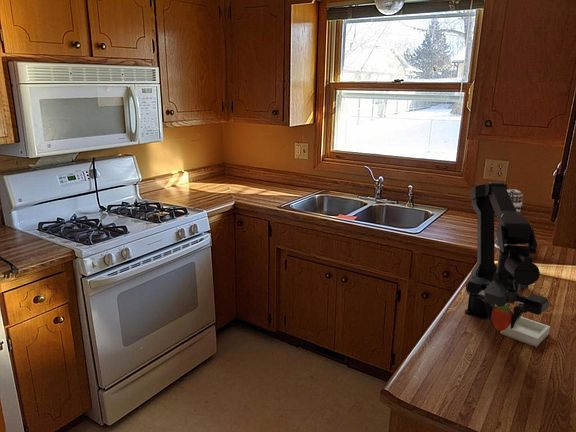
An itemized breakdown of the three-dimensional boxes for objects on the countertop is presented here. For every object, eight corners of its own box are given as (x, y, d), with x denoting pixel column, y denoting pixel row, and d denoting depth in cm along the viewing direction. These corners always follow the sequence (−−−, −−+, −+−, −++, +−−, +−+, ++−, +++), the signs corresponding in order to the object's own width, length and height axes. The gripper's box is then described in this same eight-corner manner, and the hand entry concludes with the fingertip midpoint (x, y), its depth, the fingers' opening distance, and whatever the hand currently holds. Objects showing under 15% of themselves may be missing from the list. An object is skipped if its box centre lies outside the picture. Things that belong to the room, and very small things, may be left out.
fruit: (485, 326, 121) (488, 299, 118) (500, 323, 122) (504, 296, 120) (500, 336, 116) (505, 308, 114) (516, 333, 118) (520, 305, 115)
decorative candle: (522, 249, 191) (531, 192, 185) (504, 251, 189) (512, 193, 182) (506, 242, 200) (514, 187, 193) (489, 244, 197) (496, 188, 191)
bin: (500, 333, 125) (501, 325, 124) (513, 322, 131) (514, 314, 131) (536, 347, 118) (537, 338, 118) (548, 334, 125) (550, 326, 124)
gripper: (459, 266, 116) (452, 321, 120) (537, 289, 103) (527, 350, 107) (478, 256, 123) (472, 308, 127) (553, 276, 110) (543, 333, 114)
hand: (501, 324), depth 119 cm, fingers closed on fruit, 5 cm apart
